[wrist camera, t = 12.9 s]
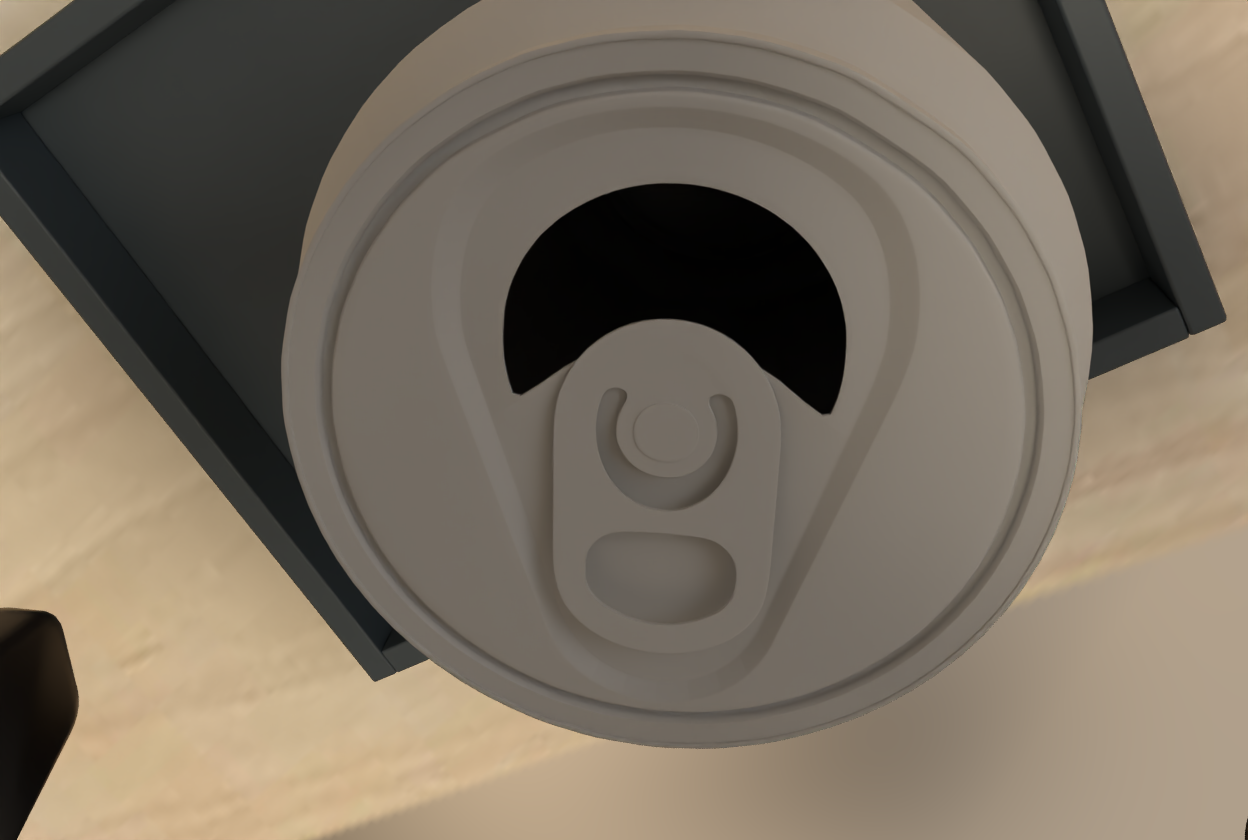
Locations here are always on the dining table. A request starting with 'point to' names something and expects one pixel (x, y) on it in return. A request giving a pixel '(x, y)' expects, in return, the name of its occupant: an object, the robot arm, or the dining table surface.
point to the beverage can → (689, 359)
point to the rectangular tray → (304, 144)
